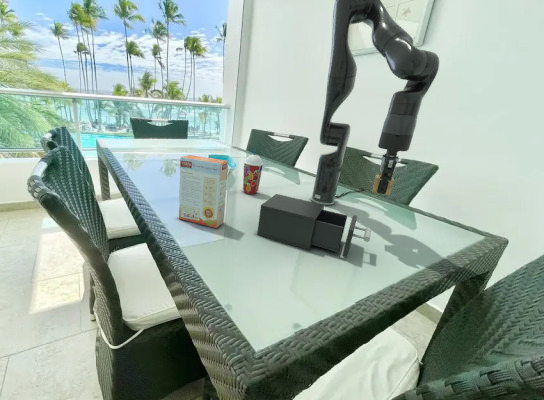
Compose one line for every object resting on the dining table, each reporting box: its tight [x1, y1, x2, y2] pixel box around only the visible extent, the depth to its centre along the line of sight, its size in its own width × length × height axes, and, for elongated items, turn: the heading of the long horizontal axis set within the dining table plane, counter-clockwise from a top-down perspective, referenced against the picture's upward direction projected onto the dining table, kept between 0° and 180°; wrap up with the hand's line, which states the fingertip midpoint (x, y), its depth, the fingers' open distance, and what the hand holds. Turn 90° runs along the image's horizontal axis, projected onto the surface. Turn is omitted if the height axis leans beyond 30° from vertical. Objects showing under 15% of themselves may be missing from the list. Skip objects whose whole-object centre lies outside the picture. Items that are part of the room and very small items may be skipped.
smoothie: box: [242, 147, 264, 195], centre depth 120 cm, size 8×8×20 cm
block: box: [371, 174, 395, 196], centre depth 80 cm, size 4×4×4 cm
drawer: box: [311, 209, 372, 258], centre depth 79 cm, size 19×13×8 cm
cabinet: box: [256, 193, 325, 251], centre depth 84 cm, size 16×14×10 cm
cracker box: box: [178, 154, 229, 229], centre depth 86 cm, size 14×6×21 cm, turn 65°
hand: (380, 190), depth 80 cm, fingers closed on block, 4 cm apart
